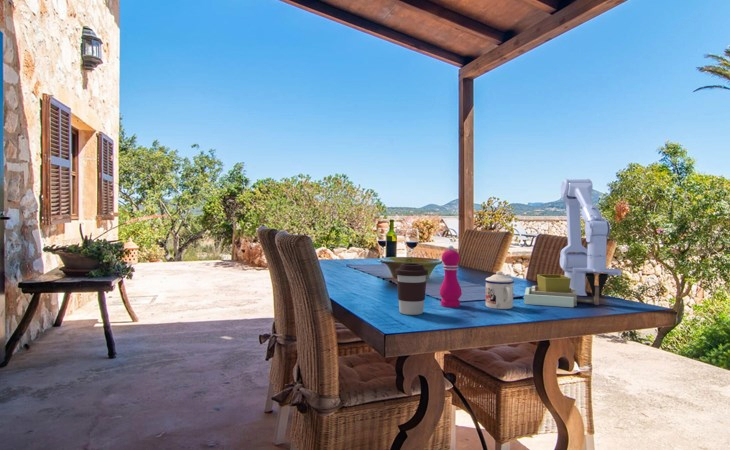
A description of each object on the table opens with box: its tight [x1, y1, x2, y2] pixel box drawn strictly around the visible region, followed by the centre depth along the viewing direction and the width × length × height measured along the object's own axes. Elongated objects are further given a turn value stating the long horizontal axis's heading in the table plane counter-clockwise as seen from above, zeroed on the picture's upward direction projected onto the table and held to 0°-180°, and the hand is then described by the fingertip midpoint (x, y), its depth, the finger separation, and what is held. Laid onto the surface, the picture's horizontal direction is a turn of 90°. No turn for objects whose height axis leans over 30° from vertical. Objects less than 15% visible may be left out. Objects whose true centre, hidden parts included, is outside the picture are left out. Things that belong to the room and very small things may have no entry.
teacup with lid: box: [484, 270, 515, 310], centre depth 148 cm, size 12×9×12 cm
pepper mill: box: [439, 245, 462, 308], centre depth 151 cm, size 7×7×20 cm
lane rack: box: [523, 286, 575, 308], centre depth 159 cm, size 17×15×3 cm
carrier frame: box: [531, 284, 600, 307], centre depth 157 cm, size 14×21×6 cm, turn 69°
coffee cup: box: [394, 262, 429, 316], centre depth 139 cm, size 10×10×15 cm
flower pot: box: [536, 273, 571, 293], centre depth 159 cm, size 9×9×9 cm
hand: (596, 295), depth 154 cm, fingers closed on carrier frame
